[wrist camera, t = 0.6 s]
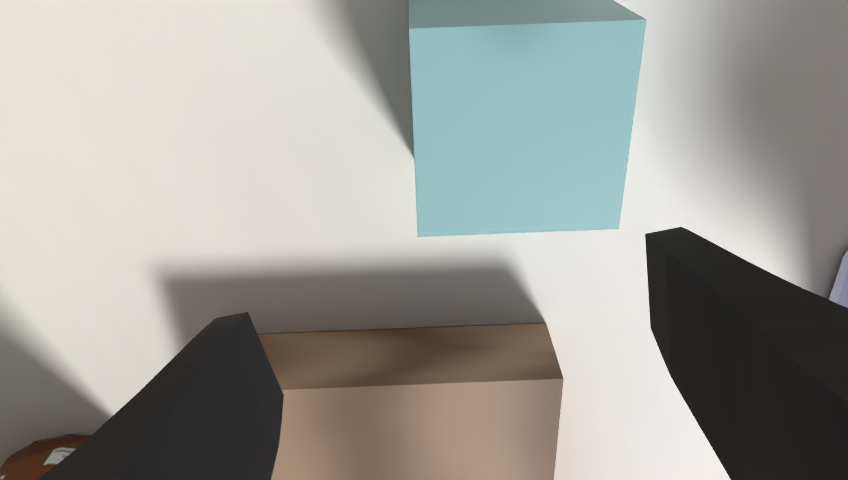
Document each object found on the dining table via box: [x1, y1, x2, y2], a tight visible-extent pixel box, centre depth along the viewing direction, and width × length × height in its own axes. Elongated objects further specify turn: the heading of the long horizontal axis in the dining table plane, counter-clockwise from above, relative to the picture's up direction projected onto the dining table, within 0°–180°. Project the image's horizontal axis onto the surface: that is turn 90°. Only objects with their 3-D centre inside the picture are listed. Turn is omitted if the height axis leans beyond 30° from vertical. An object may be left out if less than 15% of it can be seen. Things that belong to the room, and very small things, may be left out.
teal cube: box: [409, 0, 646, 237], centre depth 17 cm, size 5×5×5 cm
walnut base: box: [257, 323, 563, 480], centre depth 25 cm, size 12×12×3 cm
